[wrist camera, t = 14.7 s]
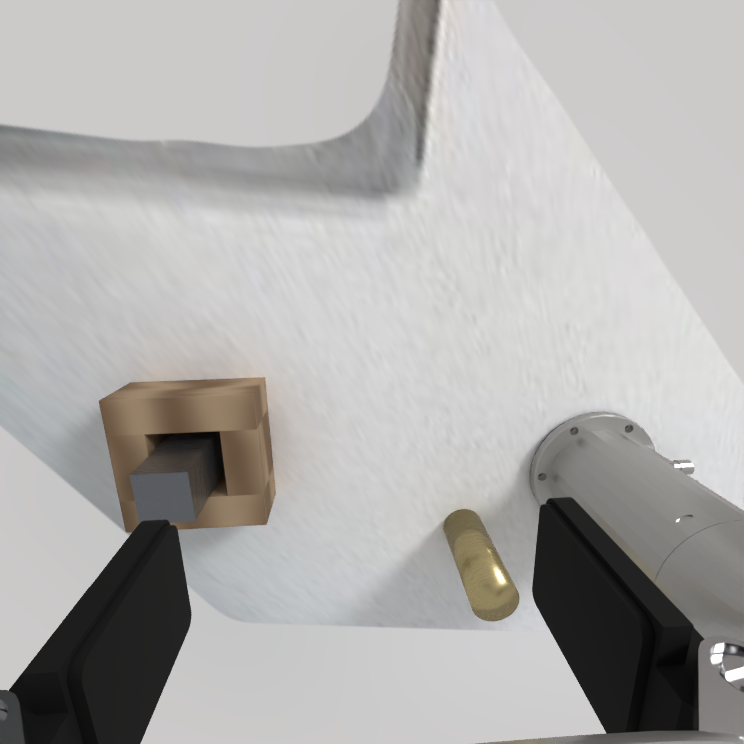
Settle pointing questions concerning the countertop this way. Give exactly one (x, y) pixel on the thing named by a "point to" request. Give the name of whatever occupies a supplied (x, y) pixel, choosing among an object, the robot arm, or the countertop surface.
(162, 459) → the square bit
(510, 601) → the round bit
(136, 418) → the bore block
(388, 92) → the countertop surface
